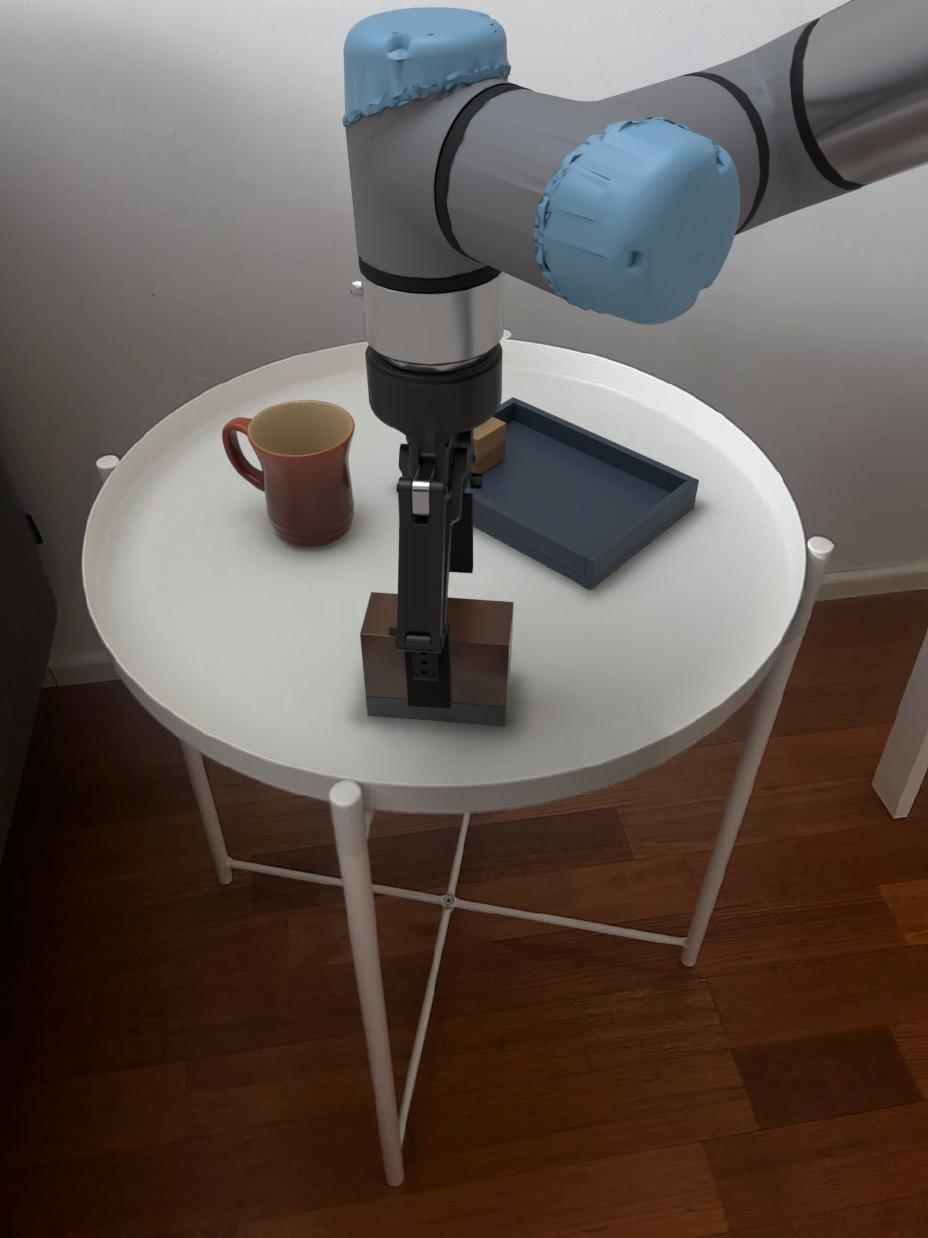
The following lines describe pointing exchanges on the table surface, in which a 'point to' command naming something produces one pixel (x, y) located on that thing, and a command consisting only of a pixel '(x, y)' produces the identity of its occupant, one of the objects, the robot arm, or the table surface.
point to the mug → (299, 468)
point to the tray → (575, 495)
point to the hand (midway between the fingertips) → (443, 631)
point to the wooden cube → (489, 444)
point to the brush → (474, 661)
